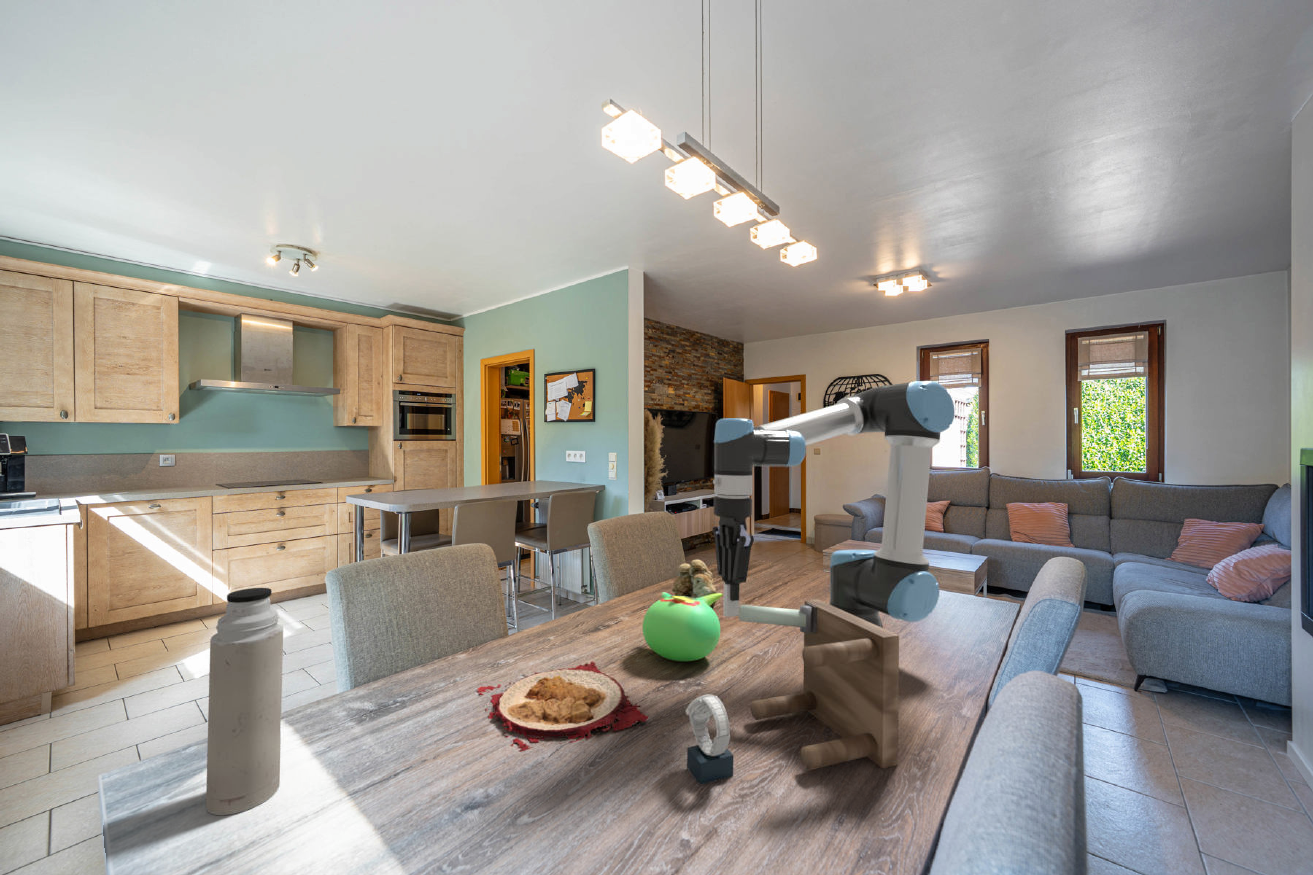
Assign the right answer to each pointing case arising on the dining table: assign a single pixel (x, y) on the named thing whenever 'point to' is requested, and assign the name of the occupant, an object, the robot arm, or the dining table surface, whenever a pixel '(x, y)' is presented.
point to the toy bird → (682, 627)
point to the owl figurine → (694, 581)
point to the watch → (709, 741)
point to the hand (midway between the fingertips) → (731, 615)
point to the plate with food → (563, 704)
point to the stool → (845, 688)
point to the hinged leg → (778, 616)
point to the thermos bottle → (244, 704)
